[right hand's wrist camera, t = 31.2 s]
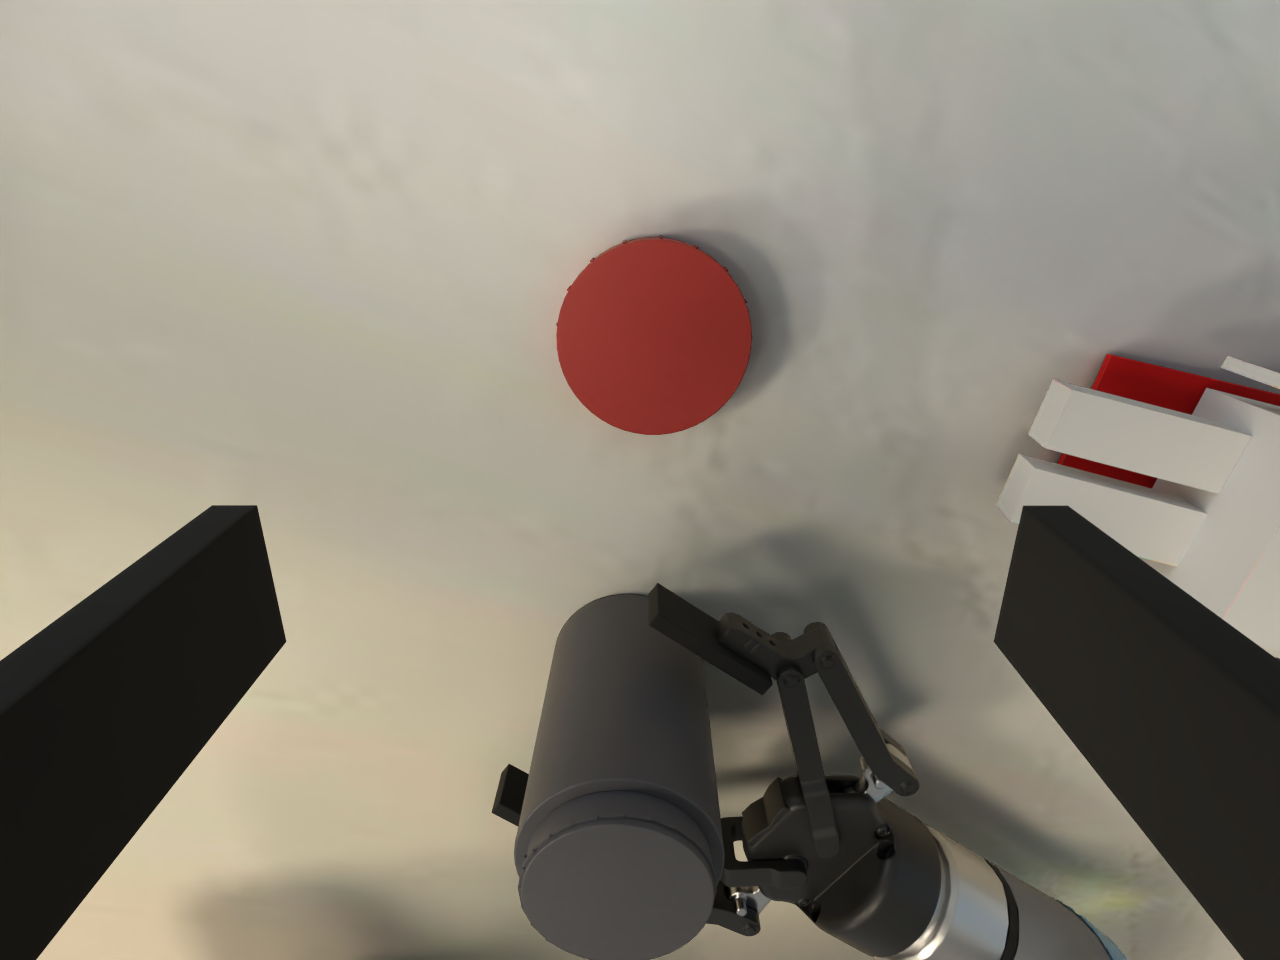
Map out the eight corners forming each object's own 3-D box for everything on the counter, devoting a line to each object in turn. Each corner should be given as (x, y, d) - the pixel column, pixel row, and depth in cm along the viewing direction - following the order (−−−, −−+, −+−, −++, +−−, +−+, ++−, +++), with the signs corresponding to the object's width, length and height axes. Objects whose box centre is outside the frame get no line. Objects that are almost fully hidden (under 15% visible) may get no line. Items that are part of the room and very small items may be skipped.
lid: (562, 228, 33) (557, 230, 31) (759, 242, 33) (765, 245, 32) (557, 417, 36) (552, 428, 35) (736, 429, 37) (741, 441, 35)
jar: (619, 565, 40) (604, 774, 25) (732, 652, 42) (775, 891, 27) (525, 662, 42) (462, 903, 28) (635, 740, 44) (629, 1001, 30)
